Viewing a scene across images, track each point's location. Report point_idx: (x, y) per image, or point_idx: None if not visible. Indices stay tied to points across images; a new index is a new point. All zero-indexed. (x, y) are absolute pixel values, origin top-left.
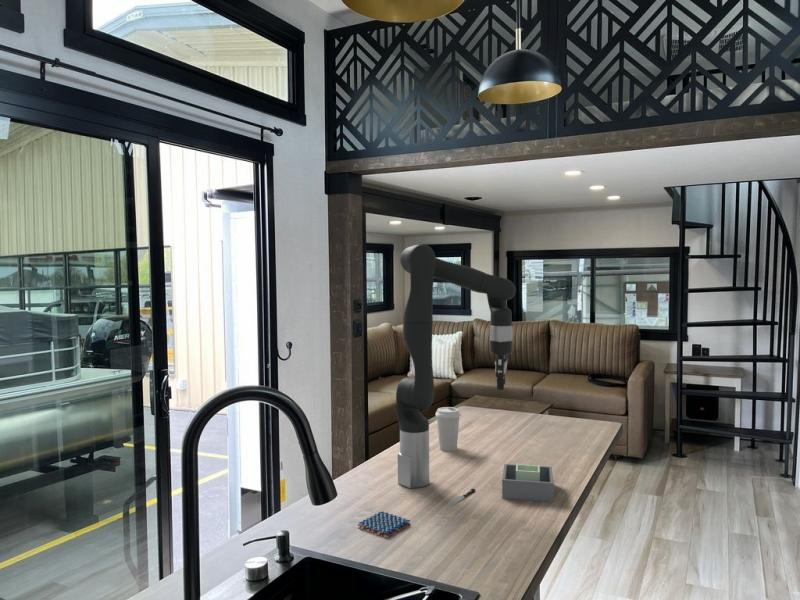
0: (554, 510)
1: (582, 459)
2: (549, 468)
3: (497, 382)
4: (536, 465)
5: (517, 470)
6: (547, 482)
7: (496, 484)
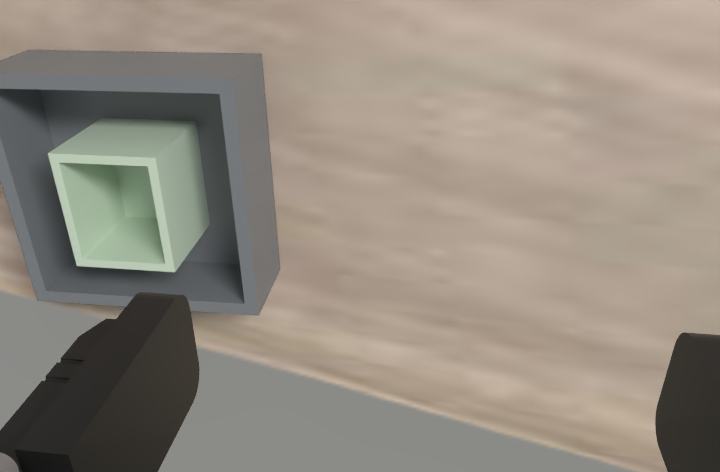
0: (6, 253)
1: (651, 425)
2: (229, 304)
3: (77, 386)
4: (171, 258)
5: (54, 162)
6: (36, 279)
7: (196, 11)
